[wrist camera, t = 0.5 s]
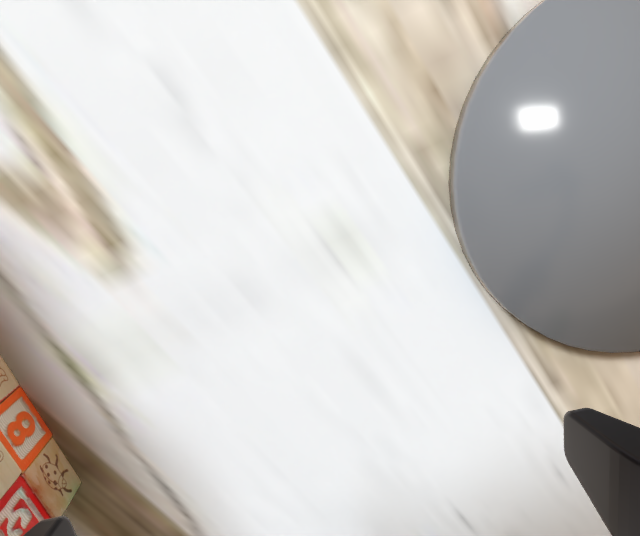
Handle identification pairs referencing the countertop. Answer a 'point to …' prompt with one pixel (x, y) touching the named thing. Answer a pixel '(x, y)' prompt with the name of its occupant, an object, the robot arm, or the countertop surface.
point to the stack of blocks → (29, 463)
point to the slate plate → (557, 173)
